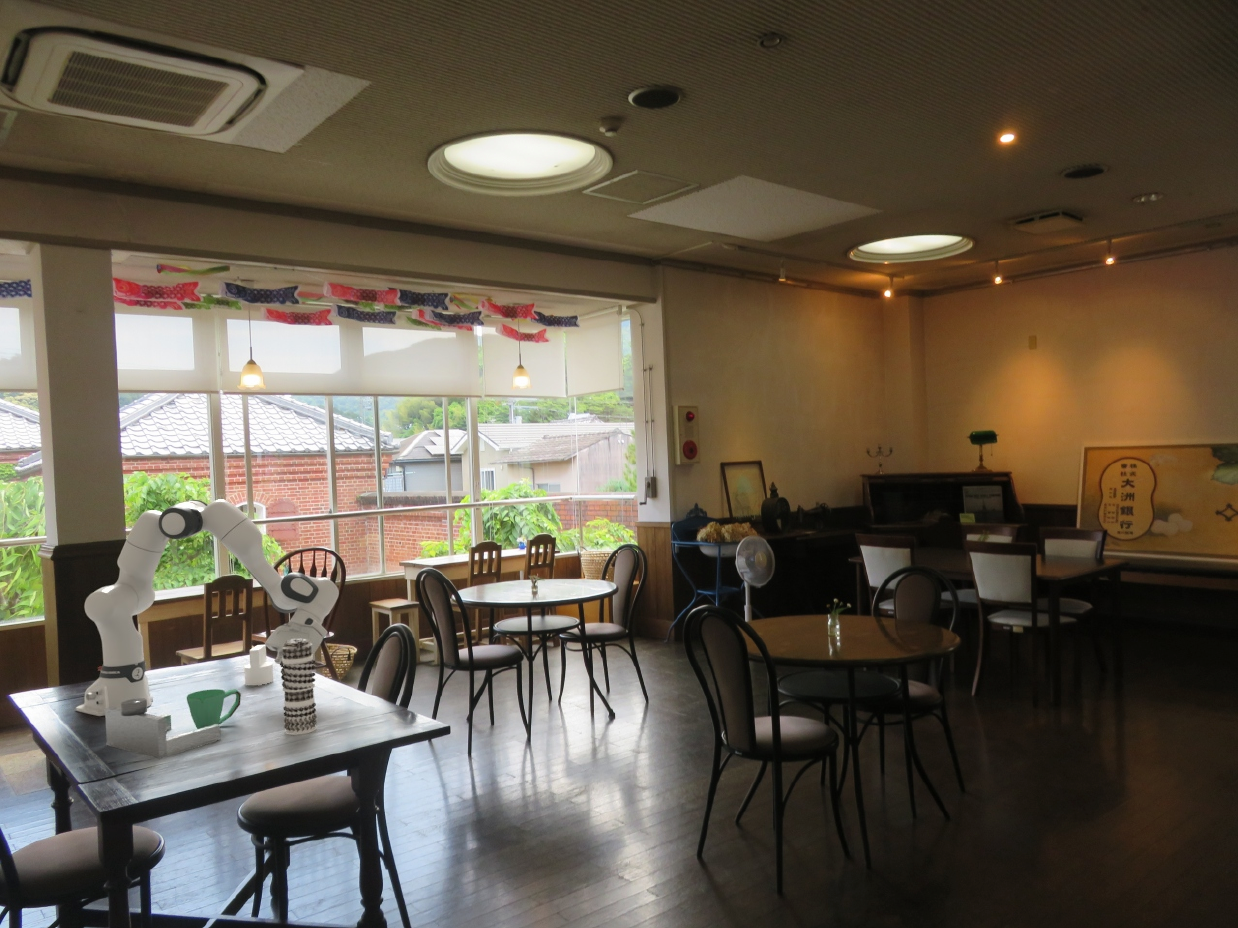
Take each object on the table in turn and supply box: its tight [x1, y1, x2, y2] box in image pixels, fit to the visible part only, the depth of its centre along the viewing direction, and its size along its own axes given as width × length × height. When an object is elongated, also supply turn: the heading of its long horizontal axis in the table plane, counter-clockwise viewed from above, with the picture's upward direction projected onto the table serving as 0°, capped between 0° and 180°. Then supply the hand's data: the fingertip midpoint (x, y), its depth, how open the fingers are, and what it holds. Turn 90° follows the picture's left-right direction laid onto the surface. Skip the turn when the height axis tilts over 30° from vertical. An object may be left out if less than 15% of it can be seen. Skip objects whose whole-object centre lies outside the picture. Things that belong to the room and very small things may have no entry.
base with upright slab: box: [243, 644, 274, 686], centre depth 309 cm, size 9×9×12 cm
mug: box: [186, 688, 242, 730], centre depth 257 cm, size 15×10×10 cm
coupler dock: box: [104, 698, 221, 760], centre depth 243 cm, size 19×25×13 cm
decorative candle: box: [279, 638, 318, 736], centre depth 250 cm, size 9×9×25 cm
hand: (278, 663), depth 275 cm, fingers closed
